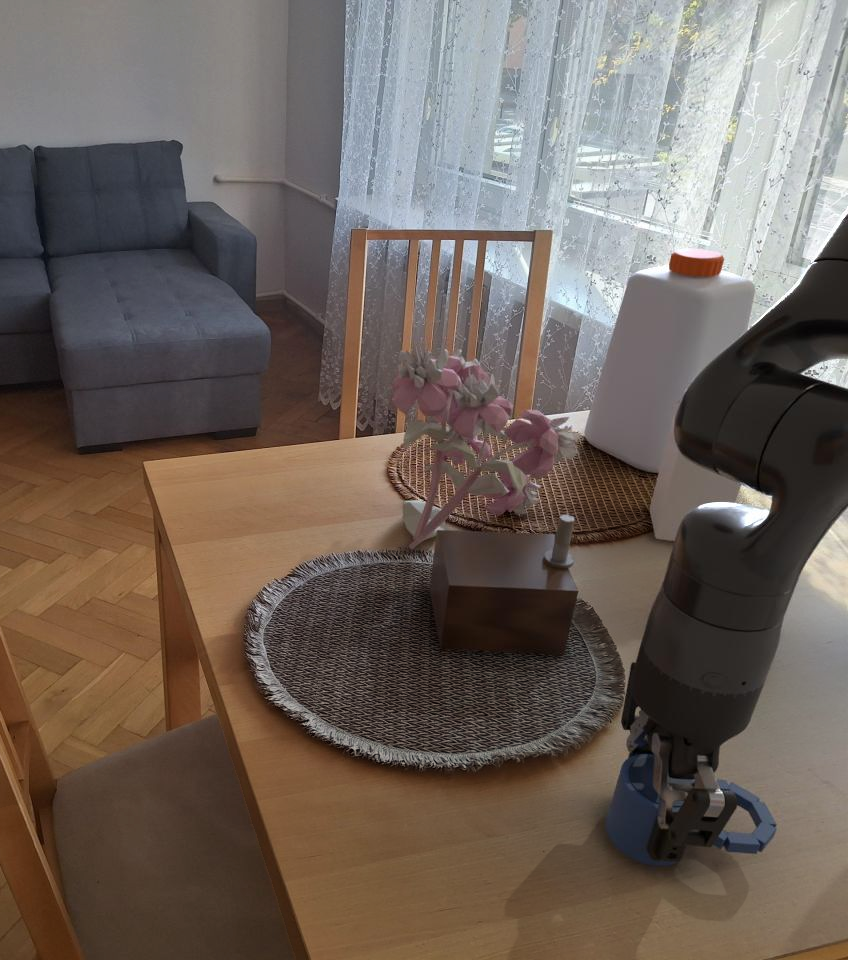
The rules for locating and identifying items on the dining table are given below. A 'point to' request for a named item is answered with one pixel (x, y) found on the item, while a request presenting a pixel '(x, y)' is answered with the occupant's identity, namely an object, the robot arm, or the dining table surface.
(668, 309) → the plastic bottle
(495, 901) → the dining table surface
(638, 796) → the blue mug
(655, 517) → the milk carton
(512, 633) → the walnut box
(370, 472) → the dining table surface
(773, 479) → the robot arm
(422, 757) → the dining table surface
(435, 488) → the flower
